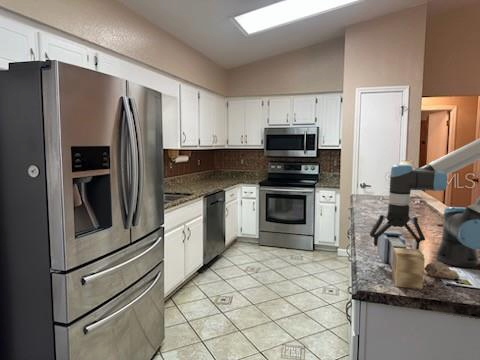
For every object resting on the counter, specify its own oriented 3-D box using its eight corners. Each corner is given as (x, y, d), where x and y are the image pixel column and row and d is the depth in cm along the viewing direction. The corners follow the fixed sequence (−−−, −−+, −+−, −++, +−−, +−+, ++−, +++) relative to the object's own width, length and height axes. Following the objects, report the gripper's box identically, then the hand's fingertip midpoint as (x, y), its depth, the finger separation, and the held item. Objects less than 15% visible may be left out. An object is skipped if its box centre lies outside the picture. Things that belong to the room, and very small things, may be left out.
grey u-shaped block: (397, 254, 148) (399, 230, 146) (403, 263, 137) (405, 237, 136) (379, 253, 149) (380, 229, 148) (383, 262, 138) (385, 236, 137)
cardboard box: (416, 280, 120) (418, 249, 119) (422, 288, 113) (424, 256, 112) (391, 278, 122) (393, 247, 121) (396, 286, 115) (397, 254, 114)
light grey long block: (394, 254, 146) (395, 234, 145) (404, 269, 129) (406, 247, 128) (383, 253, 148) (384, 233, 146) (392, 268, 130) (393, 246, 129)
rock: (421, 274, 126) (448, 278, 118) (421, 258, 127) (448, 262, 119) (434, 276, 130) (461, 280, 122) (435, 260, 131) (462, 264, 123)
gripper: (430, 203, 133) (426, 255, 135) (364, 200, 138) (361, 249, 141) (436, 207, 125) (432, 261, 128) (367, 203, 131) (363, 255, 134)
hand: (395, 255), depth 134 cm, fingers open, 13 cm apart
